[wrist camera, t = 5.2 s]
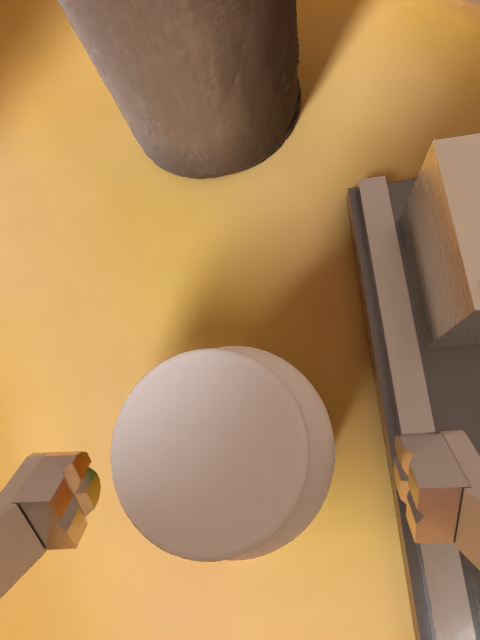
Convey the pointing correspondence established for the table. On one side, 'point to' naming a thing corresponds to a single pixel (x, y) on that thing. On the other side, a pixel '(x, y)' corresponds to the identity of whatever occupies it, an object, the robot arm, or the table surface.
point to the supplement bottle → (222, 454)
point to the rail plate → (426, 345)
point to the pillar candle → (197, 76)
